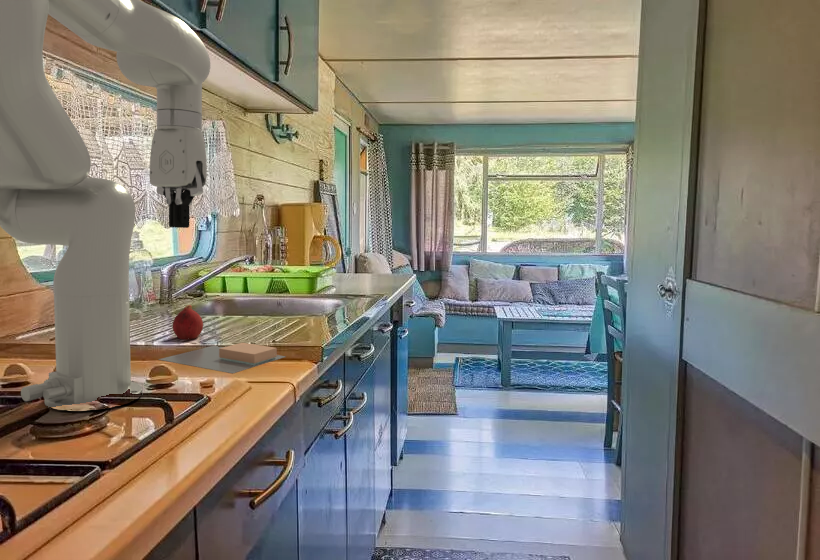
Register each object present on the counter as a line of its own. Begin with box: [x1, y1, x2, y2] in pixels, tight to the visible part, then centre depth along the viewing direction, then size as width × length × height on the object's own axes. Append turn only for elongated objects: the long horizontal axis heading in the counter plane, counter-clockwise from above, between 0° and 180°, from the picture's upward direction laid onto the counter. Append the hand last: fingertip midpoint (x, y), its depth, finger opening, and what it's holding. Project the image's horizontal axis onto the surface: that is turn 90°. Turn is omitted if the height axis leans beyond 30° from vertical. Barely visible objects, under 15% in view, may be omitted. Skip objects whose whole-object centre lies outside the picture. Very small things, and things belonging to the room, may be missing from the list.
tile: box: [219, 342, 278, 365], centre depth 112 cm, size 6×2×8 cm
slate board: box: [157, 345, 287, 375], centre depth 112 cm, size 14×17×1 cm
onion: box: [172, 304, 204, 340], centre depth 127 cm, size 6×6×8 cm
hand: (179, 227), depth 112 cm, fingers closed
